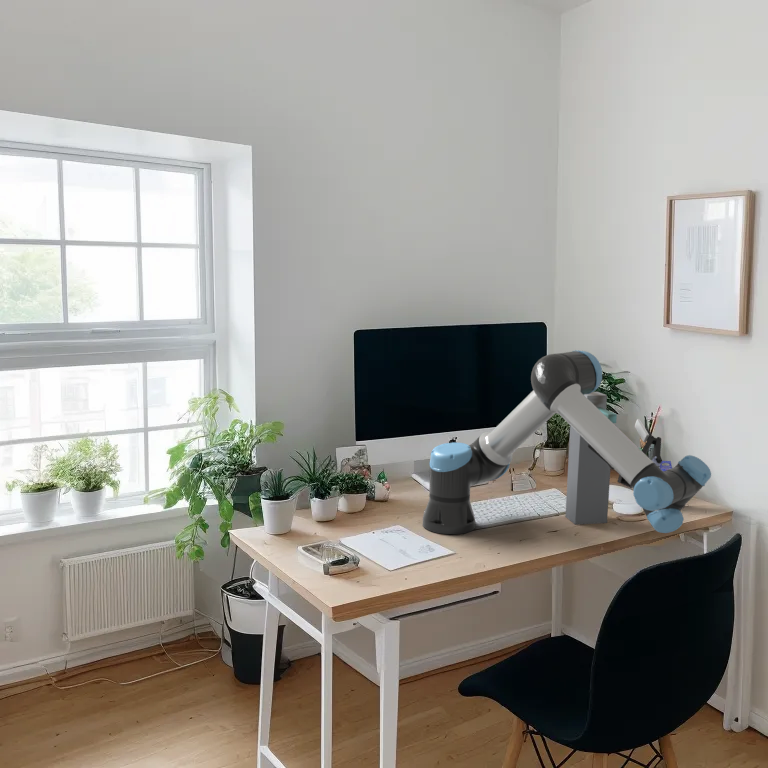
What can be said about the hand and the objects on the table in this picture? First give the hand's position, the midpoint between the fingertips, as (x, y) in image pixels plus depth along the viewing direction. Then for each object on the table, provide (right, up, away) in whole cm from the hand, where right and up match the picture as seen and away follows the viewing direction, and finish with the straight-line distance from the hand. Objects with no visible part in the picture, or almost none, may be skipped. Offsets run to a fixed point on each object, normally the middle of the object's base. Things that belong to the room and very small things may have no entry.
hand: (614, 422), depth 215 cm
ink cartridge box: (+25, -28, +31) cm, 49 cm away
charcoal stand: (-3, -30, +17) cm, 35 cm away
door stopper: (+22, -24, +55) cm, 64 cm away
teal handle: (-2, +1, +8) cm, 8 cm away
